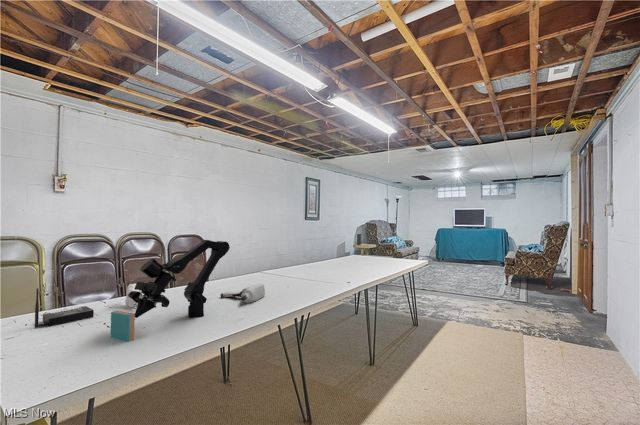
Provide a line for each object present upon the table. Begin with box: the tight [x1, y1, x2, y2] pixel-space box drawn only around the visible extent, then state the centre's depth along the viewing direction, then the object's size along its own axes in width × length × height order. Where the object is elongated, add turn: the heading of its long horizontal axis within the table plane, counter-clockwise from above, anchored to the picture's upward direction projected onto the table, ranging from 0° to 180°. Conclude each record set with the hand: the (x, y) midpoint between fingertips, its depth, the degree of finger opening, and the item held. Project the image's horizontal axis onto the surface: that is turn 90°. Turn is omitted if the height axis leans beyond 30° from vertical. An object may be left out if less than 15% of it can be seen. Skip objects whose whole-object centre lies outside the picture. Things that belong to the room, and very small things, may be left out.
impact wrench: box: [220, 283, 266, 304], centre depth 175 cm, size 8×23×25 cm
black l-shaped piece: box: [34, 288, 95, 329], centre depth 138 cm, size 20×14×17 cm
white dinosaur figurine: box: [124, 282, 141, 308], centre depth 161 cm, size 7×24×11 cm, turn 44°
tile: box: [110, 310, 136, 343], centre depth 118 cm, size 2×10×10 cm, turn 68°
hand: (135, 317), depth 122 cm, fingers closed
